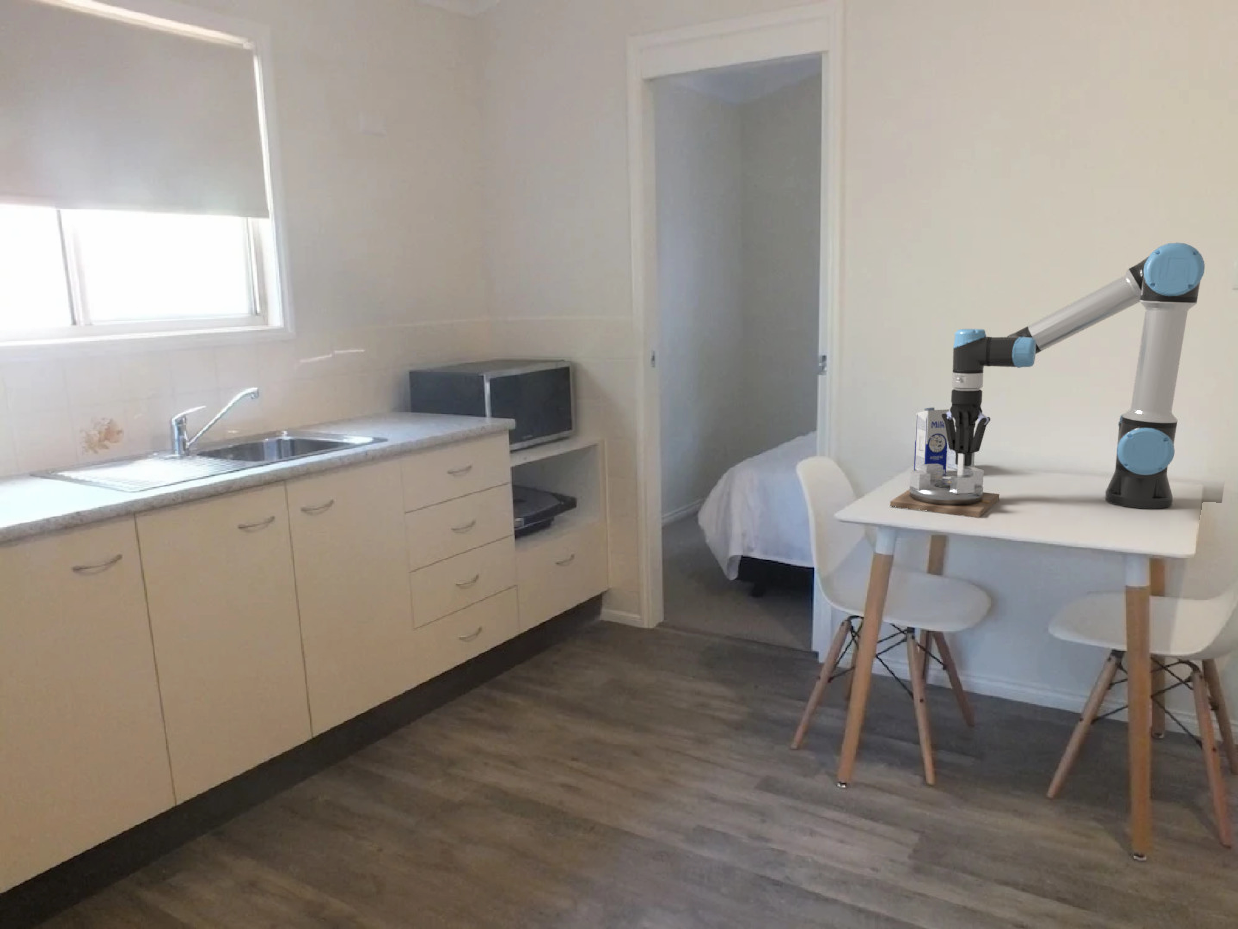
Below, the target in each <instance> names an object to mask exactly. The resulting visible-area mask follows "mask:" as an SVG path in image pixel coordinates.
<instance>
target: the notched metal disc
mask: <svg viewBox="0 0 1238 929" xmlns="http://www.w3.org/2000/svg"><path fill="white" fill-rule="evenodd" d="M909 472H910V473H909V474H910V475H909V489H910V497H911V498H913V499H915V500H918V501H921V502H926V503H932V504H941V505H968V504H975V503H978V502H981V501H982V499H983V492H984V486H983V485H984V474H985V473H984V472H985V471H984V469H980V468H977V467H975V466H974V467H964V468H963V475H957V474H956V475H951V476H950V478H943V476H944V475H943V465H940V464H923V465H921V470H915V471H914V470H910V471H909Z"/></svg>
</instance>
